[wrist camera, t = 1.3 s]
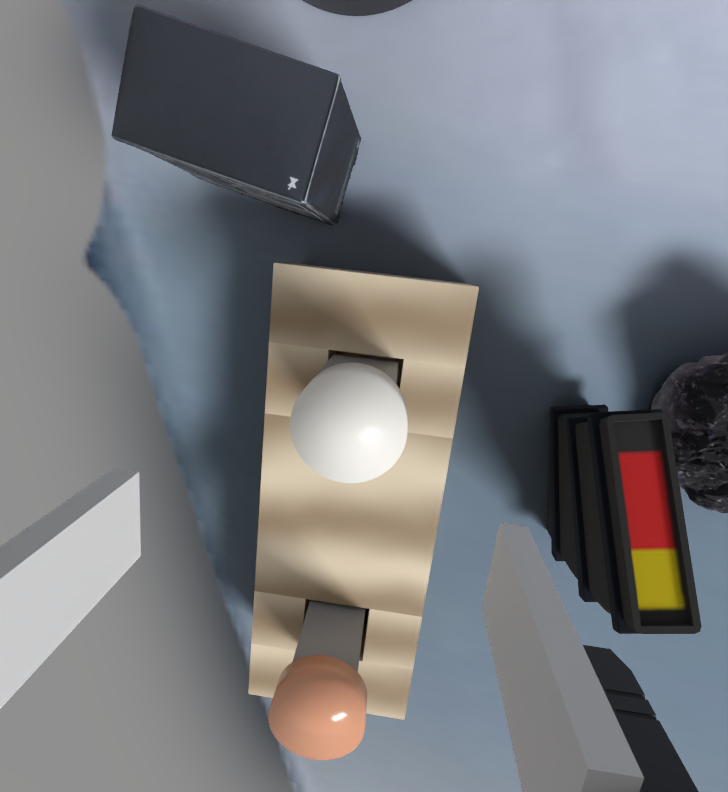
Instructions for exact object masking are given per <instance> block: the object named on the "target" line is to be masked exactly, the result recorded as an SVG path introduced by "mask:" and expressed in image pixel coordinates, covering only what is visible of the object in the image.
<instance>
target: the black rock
mask: <svg viewBox="0 0 728 792" xmlns="http://www.w3.org/2000/svg"><path fill="white" fill-rule="evenodd" d="M655 409H661V410H662V412H663V413H664V414H666V415H667V416H668V418H669V422H670V429H671V435H672V442H673V448H674V454H675V461H676V467H677V474H678V480H679V486H681V487H682V488H683V489H685V491H686V493H687V494H688V496H689V498H690V500H692V501H693V502H694V503H696V504H697V505H699V506H701V507H704V508H706V509H708V510H711V511H712V510H716V511H719V512H721V513H728V352H726V353H724V354H722V355H713V356H704V357H703V358H701V359H700V360H699V361H698V362H688V363H685V364H683V365H681V366H680V367H678V368H677V369H676V370H675V371H674V372H672V373H671V374H670V375H669V377H668V378H667V379H666V381H665V382H664V383H663V385H662V388H661V389H660V390H659V392H658V393H657V394H656V395H655V396H654V399H653V402H652V404H651V410H655Z"/></svg>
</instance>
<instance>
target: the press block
mask: <svg viewBox="0 0 728 792" xmlns="http://www.w3.org/2000/svg"><path fill="white" fill-rule="evenodd" d="M478 291H479V287H477V286H474V285H470V284H467V283H461V282H452V281H444V280H435V279H427V278H418V277H409V276H401V275H392V274H384V273H375V272H367V271H358V270H350V269H341V268H333V267H324V266H316V265H307V264H296V263H274V264H273V281H272V299H271V316H270V333H269V350H268V367H267V385H266V402H265V419H264V436H263V453H262V470H261V488H260V505H259V522H258V539H257V556H256V574H255V591H254V608H253V625H252V642H251V660H250V678H249V694H253V695H259V696H265V697H271V698H273V696H274V693H275V690H276V687H277V683H278V680H279V677H280V675H281V673H282V671H283V670H284V669H285V668H286V667H287V666H288V665H289V664H290V663H292V662H293V658H294V655H295V651H296V648H297V644H298V641H299V637H300V634H301V630H302V627H303V623H304V620H305V616H306V613H307V609H308V606H309V602H310V600H312V601H318V602H325V603H331V604H337V605H344V606H350V607H357V608H363V609H365V616H364V624H363V633H362V641H361V650H360V658H359V666H358V673H359V675H360V676H361V677H362V679H363V681H364V683H365V685H366V689H367V695H368V696H367V709H366V713H367V714H373V715H379V716H385V717H391V718H397V719H403V720H404V718H405V713H406V707H407V701H408V695H409V689H410V684H411V678H412V672H413V666H414V661H415V655H416V649H417V643H418V637H419V632H420V626H421V620H422V614H423V609H424V603H425V597H426V591H427V585H428V580H429V574H430V568H431V562H432V557H433V551H434V545H435V539H436V533H437V528H438V522H439V516H440V510H441V505H442V499H443V493H444V487H445V481H446V476H447V470H448V464H449V458H450V452H451V447H452V441H453V435H454V429H455V424H456V418H457V412H458V406H459V400H460V395H461V389H462V383H463V377H464V372H465V366H466V360H467V354H468V348H469V343H470V337H471V331H472V325H473V320H474V314H475V308H476V302H477V296H478ZM333 354H336V355H344V356H352V357H360V358H368V359H376V360H383V361H391V362H398V373H397V386H398V387H399V389H400V390H401V392H402V394H403V396H404V399H405V402H406V406H407V415H408V432H407V440H406V444H405V447H404V450H403V452H402V454H401V456H400V457H399V459H398V460H397V462H396V463H395V464H394V465H393V466H392V467H391V468H390V469H389V470H388V471H386V472H385V473H384V474H382V475H380V476H379V477H377V478H374V479H372V480H369V481H365V482H360V483H342V482H337V481H333V480H330V479H327V478H325V477H323V476H321V475H319V474H318V473H316V472H315V471H313V470H312V469H311V468H310V467H309V466H308V465H307V464H306V463H305V462H304V461H303V460H302V458H301V457H300V456H299V454H298V452H297V451H296V449H295V446H294V444H293V441H292V437H291V431H290V419H291V413H292V409H293V406H294V404H295V402H296V400H297V398H298V396H299V395H300V393H301V392H302V391H303V390H304V389H305V387H306V386H307V385H308V384H309V383H310V381H311V380H312V379H313V378H314V377H315V376H316V375H317V374H318V373H319V371H320V370H321V369H322V368H323V367H324V365H325V364H326V363H327V362H328V360H329V359H330V358H331V357H332V356H333Z"/></svg>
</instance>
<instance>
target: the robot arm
mask: <svg viewBox="0 0 728 792" xmlns="http://www.w3.org/2000/svg"><path fill="white" fill-rule="evenodd" d="M303 1H305V2H307V3H309V4H310V5H312V6H314V7H317V8H319V9H322V10H325V11H328V12H331V13H335V14H340V15H348V16H366V15H373V14H378V13H383V12H386V11H389V10H393V9H395V8H398V7H400V6H402V5H404V4H406V3H408V2H410V1H412V0H303ZM140 544H141V542H140V497H139V472H135V471H128V470H120V469H112V470H110V471H109V472H108V473H106V474H104V475H103V476H101V477H100V478H99V479H97V480H96V481H94V482H93V483H91V484H90V485H88V486H87V487H86V488H84V489H83V490H81V491H80V492H78V493H77V494H75V495H74V496H73V497H71V498H70V499H68V500H67V501H65V502H64V503H62V504H61V505H60V506H58V507H57V508H55V509H54V510H52V511H51V512H49V513H48V514H47V515H45V516H44V517H42V518H41V519H39V520H38V521H36V522H35V523H33V524H32V525H31V526H29V527H28V528H26V529H25V530H23V531H22V532H20V533H19V534H18V535H16V536H15V537H13V538H12V539H10V540H9V541H7V542H6V543H5V544H3V545H2V546H0V709H1V708H2V706H3V705H4V704H5V703H6V702H7V701H8V700H9V699H10V698H11V697H12V696H13V694H14V693H15V692H16V691H17V690H18V689H19V688H20V687H21V686H22V685H23V684H24V682H25V681H26V680H27V679H28V678H29V677H30V676H31V675H32V674H33V673H34V672H35V670H36V669H37V668H38V667H39V666H40V665H41V664H42V663H43V662H44V661H45V660H46V658H47V657H48V656H49V655H50V654H51V653H52V652H53V651H54V650H55V649H56V648H57V646H58V645H59V644H60V643H61V642H62V641H63V640H64V639H65V638H66V637H67V636H68V634H69V633H70V632H71V631H72V630H73V629H74V628H75V627H76V626H77V625H78V624H79V622H80V621H81V620H82V619H83V618H84V617H85V616H86V615H87V614H88V613H89V612H90V610H91V609H92V608H93V607H94V606H95V605H96V604H97V603H98V602H99V601H100V600H101V598H102V597H103V596H104V595H105V594H106V593H107V592H108V591H109V590H110V589H111V588H112V587H113V585H114V584H115V583H116V582H117V581H118V580H119V579H120V578H121V577H122V575H123V574H124V573H125V572H126V571H127V570H128V569H129V568H130V567H131V566H132V565H133V564H134V562H135V561H136V560H137V559H138V558H139V557H140V556H141V545H140ZM482 610H483V614H484V619H485V623H486V628H487V632H488V637H489V641H490V646H491V650H492V655H493V660H494V664H495V669H496V673H497V678H498V682H499V687H500V691H501V696H502V700H503V705H504V710H505V714H506V719H507V723H508V728H509V732H510V737H511V741H512V746H513V750H514V755H515V760H516V764H517V769H518V773H519V778H520V782H521V787H522V791H523V792H698V790H697V788H696V786H695V785H694V783H693V781H692V779H691V777H690V776H689V774H688V772H687V770H686V768H685V767H684V765H683V763H682V761H681V759H680V758H679V756H678V754H677V752H676V750H675V749H674V747H673V745H672V743H671V741H670V740H669V738H668V736H667V734H666V732H665V731H664V729H663V727H662V725H661V723H660V722H659V721H658V720H656V714H655V712H654V711H653V709H652V707H651V705H650V703H649V702H648V700H645V694H644V693H643V691H642V689H641V687H640V685H639V684H638V682H637V680H636V678H635V676H634V675H633V673H632V671H631V670H630V669H629V668H628V667H627V666H626V665H625V664H624V663H623V662H622V661H621V660H620V659H619V658H618V657H617V656H616V655H615V654H614V653H613V652H612V651H611V650H610V649H606V648H599V647H593V646H586V645H582V643H581V641H580V638H579V636H578V634H577V632H576V630H575V628H574V626H573V623H572V621H571V619H570V617H569V615H568V613H567V610H566V608H565V606H564V604H563V602H562V600H561V597H560V595H559V593H558V591H557V589H556V587H555V584H554V582H553V580H552V578H551V576H550V574H549V572H548V569H547V567H546V565H545V563H544V561H543V559H542V556H541V554H540V552H539V550H538V548H537V546H536V543H535V541H534V539H533V537H532V535H531V533H530V531H529V528H528V527H526V526H519V525H512V524H504V523H499V528H498V533H497V537H496V542H495V547H494V552H493V557H492V561H491V566H490V571H489V576H488V580H487V585H486V590H485V595H484V599H483V604H482Z"/></svg>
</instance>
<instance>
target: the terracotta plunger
mask: <svg viewBox="0 0 728 792" xmlns="http://www.w3.org/2000/svg"><path fill="white" fill-rule="evenodd" d="M364 616H365V609H363V608H357V607H350V606H344V605H337V604H331V603H325V602H318V601H312V600H310V602H309V606H308V609H307V613H306V616H305V620H304V623H303V627H302V630H301V634H300V637H299V641H298V644H297V648H296V651H295V655H294V658H293V662H292V663H290V664H289V665H288V666H287V667H286V668H285V669H284V670H283V671H282V673H281V675H280V677H279V680H278V683H277V687H276V690H275V693H274V696H273V699H272V703H271V706H270V709H269V725H270V728H271V730H272V732H273V734H274V736H275V737H276V739H277V740H278V741H279V742H280V743H281V744H282V745H283V746H284V747H285V748H287V749H288V750H290V751H291V752H293V753H295V754H297V755H299V756H302V757H305V758H309V759H314V760H331V759H336V758H339V757H342V756H345V755H347V754H348V753H350V752H352V751H353V750H354V749H355V748H356V747H357V746H358V745H359V743H360V742H361V740H362V738H363V735H364V731H365V720H366V709H367V696H368V695H367V689H366V685H365V683H364V681H363V679H362V677H361V676H360V675H359V673H358V666H359V658H360V650H361V641H362V633H363V624H364Z"/></svg>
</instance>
